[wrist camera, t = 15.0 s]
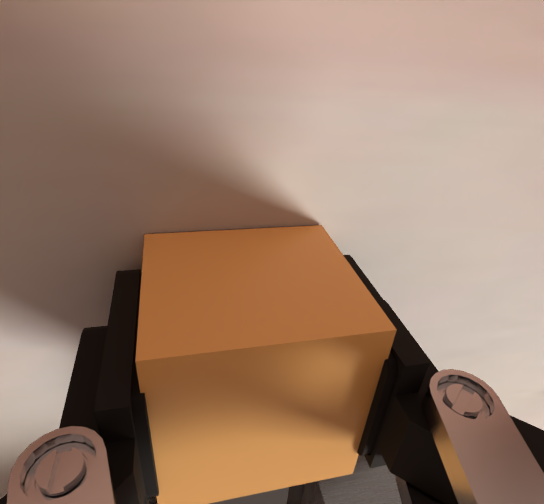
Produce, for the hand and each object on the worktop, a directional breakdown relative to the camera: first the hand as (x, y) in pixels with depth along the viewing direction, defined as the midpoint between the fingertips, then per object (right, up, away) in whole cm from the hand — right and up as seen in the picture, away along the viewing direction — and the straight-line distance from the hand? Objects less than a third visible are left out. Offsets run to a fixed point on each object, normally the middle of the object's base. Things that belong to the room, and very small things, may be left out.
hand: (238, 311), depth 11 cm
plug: (0, -4, +3) cm, 5 cm away
